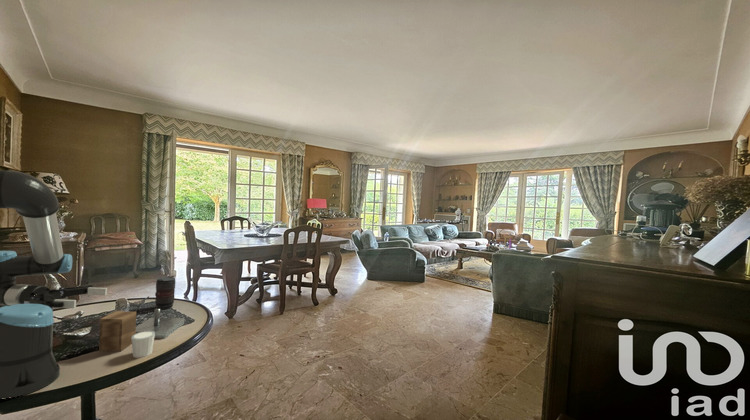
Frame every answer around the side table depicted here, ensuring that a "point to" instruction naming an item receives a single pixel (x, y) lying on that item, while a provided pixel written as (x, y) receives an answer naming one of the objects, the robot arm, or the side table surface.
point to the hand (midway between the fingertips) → (91, 297)
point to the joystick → (160, 325)
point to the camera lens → (165, 292)
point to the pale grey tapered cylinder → (142, 343)
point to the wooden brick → (117, 330)
